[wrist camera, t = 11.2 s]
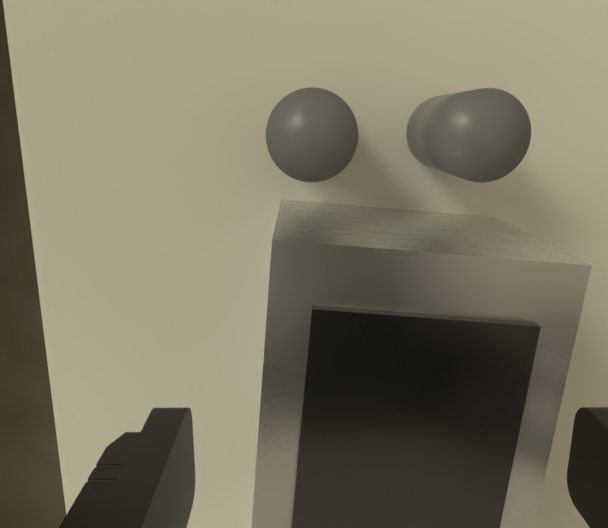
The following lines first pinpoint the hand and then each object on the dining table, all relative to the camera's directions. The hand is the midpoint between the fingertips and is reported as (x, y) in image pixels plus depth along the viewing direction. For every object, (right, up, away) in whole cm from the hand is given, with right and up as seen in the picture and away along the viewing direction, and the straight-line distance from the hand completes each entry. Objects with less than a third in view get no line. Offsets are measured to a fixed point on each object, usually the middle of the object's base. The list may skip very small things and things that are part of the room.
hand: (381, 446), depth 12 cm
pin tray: (0, +1, +4) cm, 4 cm away
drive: (0, +1, +3) cm, 3 cm away
